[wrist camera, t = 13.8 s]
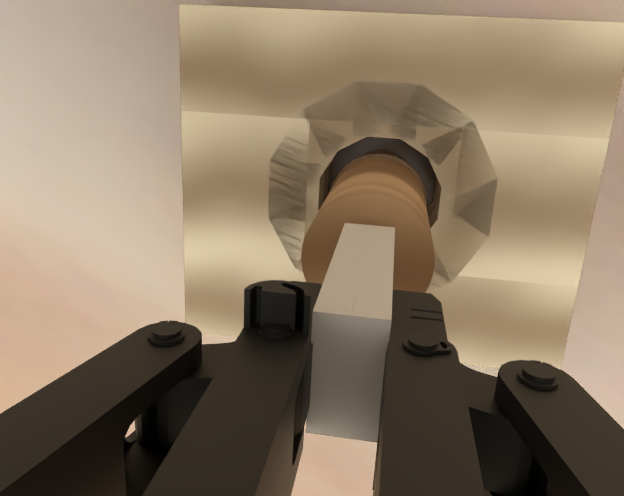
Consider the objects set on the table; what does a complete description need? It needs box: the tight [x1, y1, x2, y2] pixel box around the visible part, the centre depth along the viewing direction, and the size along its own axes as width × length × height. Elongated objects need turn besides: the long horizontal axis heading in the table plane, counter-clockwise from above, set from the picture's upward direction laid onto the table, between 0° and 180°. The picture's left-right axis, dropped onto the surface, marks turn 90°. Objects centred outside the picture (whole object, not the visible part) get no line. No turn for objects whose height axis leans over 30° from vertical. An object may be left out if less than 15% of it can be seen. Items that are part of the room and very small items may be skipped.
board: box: [179, 4, 624, 369], centre depth 28 cm, size 16×19×4 cm
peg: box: [301, 151, 435, 293], centre depth 24 cm, size 4×4×13 cm
